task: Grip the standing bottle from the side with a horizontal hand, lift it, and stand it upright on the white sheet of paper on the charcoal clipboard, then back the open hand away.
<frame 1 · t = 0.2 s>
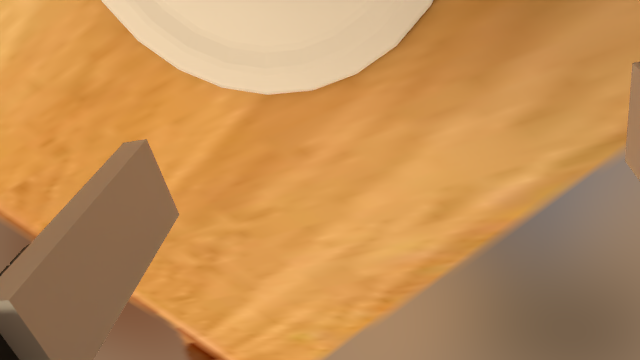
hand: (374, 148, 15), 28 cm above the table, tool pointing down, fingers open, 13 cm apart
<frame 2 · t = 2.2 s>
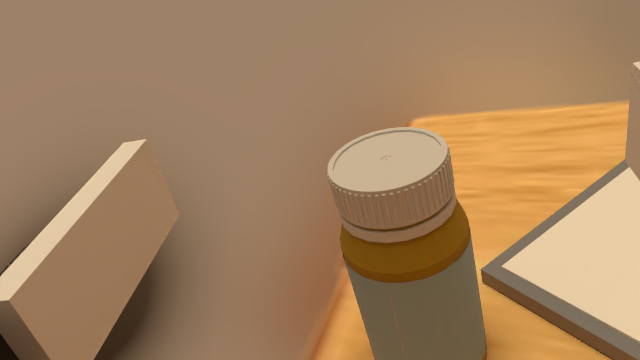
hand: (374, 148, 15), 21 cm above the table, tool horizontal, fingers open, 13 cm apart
bottle: (431, 357, 34), on the table
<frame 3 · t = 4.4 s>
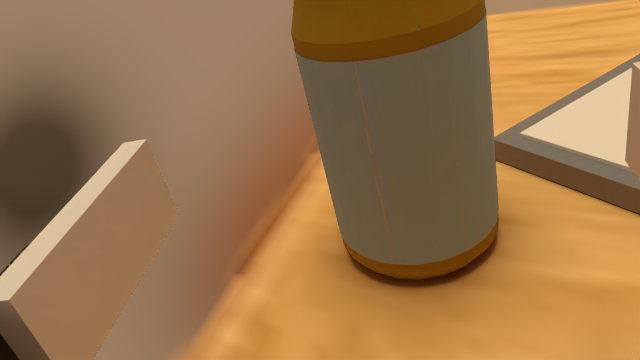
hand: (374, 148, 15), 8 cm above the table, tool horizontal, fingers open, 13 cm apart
bottle: (420, 238, 25), on the table
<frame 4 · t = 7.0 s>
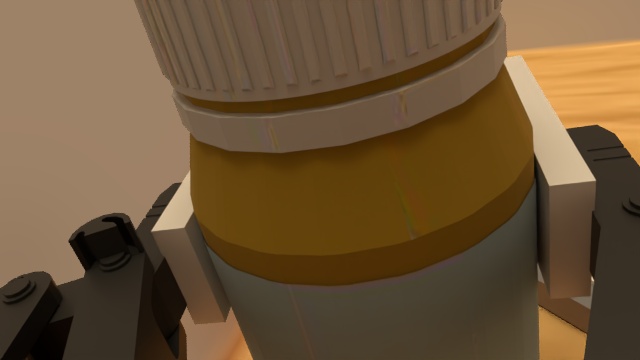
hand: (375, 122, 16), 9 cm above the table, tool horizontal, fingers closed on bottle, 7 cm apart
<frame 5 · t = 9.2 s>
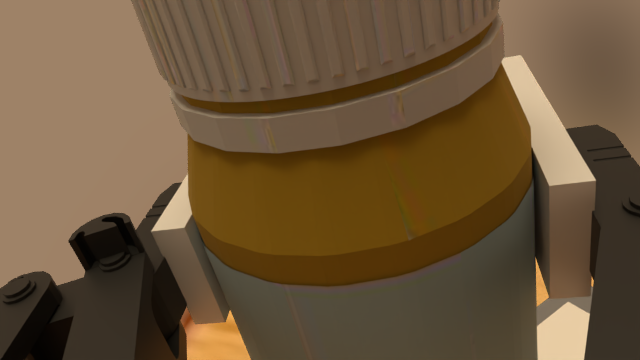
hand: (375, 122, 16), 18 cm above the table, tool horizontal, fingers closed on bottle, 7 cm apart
when the fingers open (11 cm above the table, at t = 11.6 s): bottle drops 1 cm, resting on clipboard.
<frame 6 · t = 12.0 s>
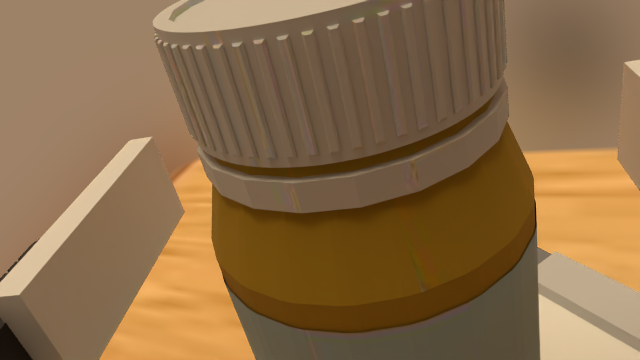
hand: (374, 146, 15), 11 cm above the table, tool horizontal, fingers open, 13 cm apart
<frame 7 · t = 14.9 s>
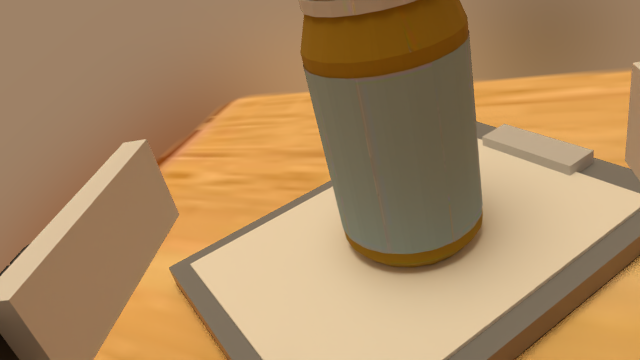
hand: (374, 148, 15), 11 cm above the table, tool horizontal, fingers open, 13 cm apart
clipboard: (415, 249, 28), on the table
bottle: (413, 231, 27), point 1 cm above the table, touching clipboard
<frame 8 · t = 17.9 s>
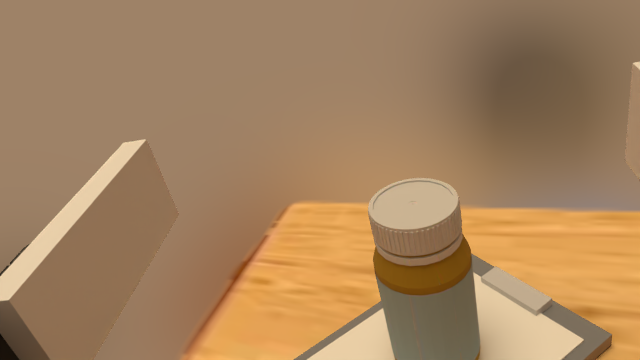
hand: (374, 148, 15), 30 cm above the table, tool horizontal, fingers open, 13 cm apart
bottle: (437, 353, 44), point 1 cm above the table, touching clipboard
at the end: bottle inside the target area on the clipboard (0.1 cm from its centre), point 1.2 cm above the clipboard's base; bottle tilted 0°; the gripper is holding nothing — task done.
